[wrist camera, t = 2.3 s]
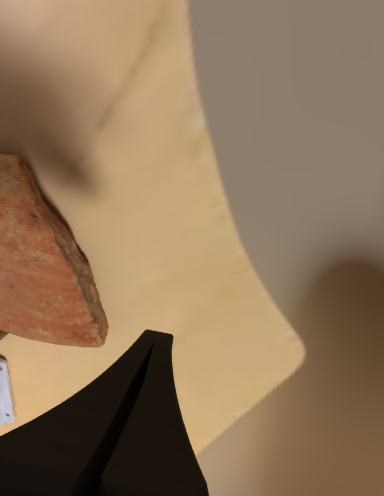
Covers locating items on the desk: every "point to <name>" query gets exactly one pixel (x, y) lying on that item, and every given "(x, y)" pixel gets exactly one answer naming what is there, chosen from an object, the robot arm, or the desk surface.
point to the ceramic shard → (42, 269)
